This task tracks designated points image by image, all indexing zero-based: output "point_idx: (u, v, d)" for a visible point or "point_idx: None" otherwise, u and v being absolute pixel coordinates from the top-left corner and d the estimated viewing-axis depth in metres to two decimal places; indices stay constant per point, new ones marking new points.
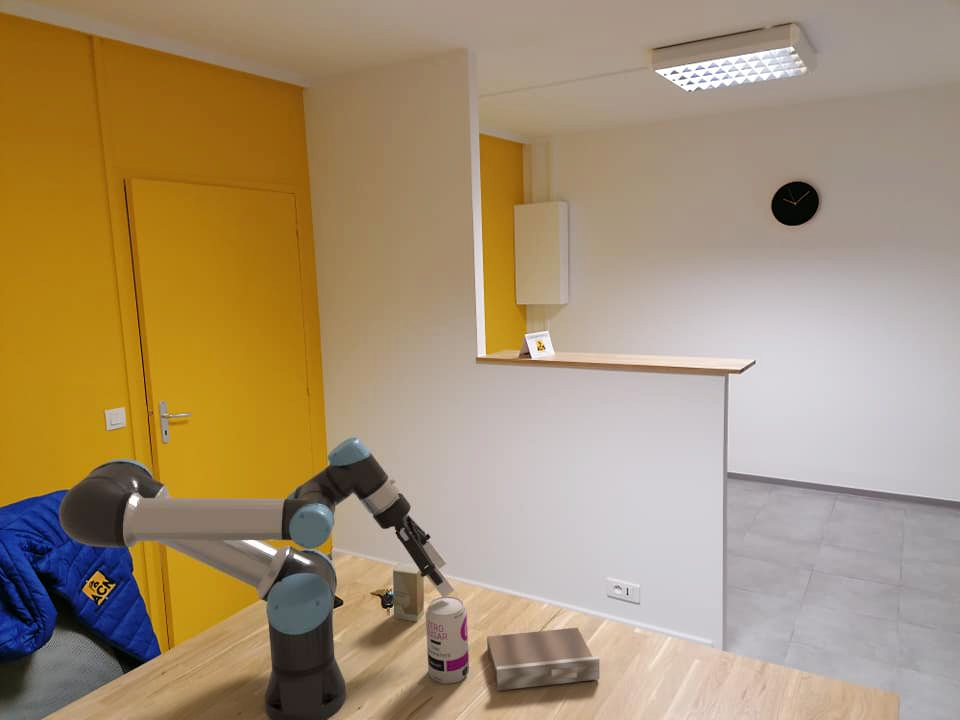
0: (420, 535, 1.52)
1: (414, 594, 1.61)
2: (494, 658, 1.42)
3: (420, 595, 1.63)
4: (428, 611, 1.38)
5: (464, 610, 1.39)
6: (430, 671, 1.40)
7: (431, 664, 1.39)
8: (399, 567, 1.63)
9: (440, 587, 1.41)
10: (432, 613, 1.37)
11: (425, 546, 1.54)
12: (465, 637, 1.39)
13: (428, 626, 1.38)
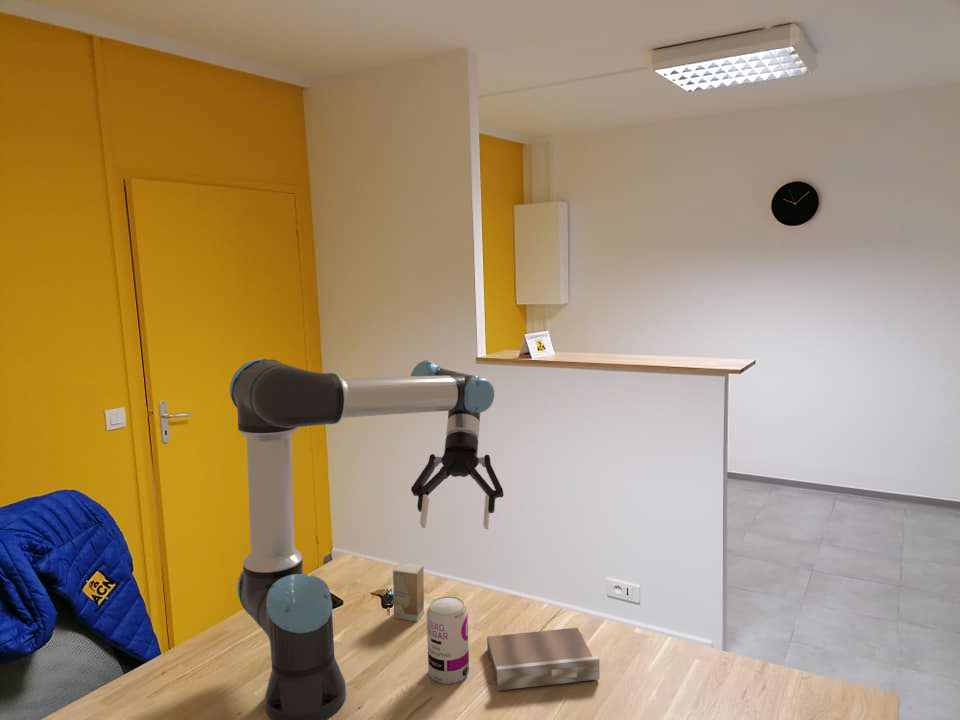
0: (435, 486, 1.55)
1: (414, 594, 1.61)
2: (494, 658, 1.42)
3: (420, 595, 1.63)
4: (429, 610, 1.39)
5: (465, 610, 1.39)
6: (430, 671, 1.40)
7: (432, 664, 1.39)
8: (399, 567, 1.63)
9: (487, 515, 1.48)
10: (433, 612, 1.37)
11: (427, 498, 1.53)
12: (466, 637, 1.39)
13: (429, 625, 1.38)
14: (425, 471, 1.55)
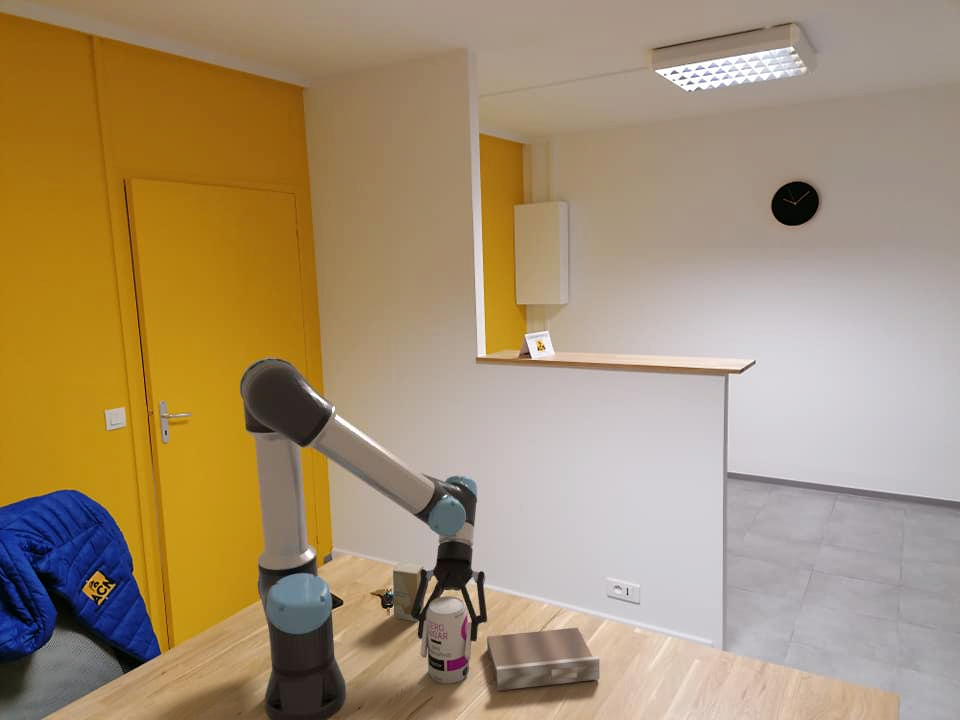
0: None
1: (414, 594, 1.61)
2: (494, 658, 1.42)
3: None
4: (429, 610, 1.39)
5: (465, 610, 1.39)
6: (430, 671, 1.40)
7: (432, 664, 1.39)
8: (399, 567, 1.63)
9: (469, 645, 1.38)
10: (433, 612, 1.37)
11: None
12: None
13: (428, 625, 1.38)
14: (420, 590, 1.45)
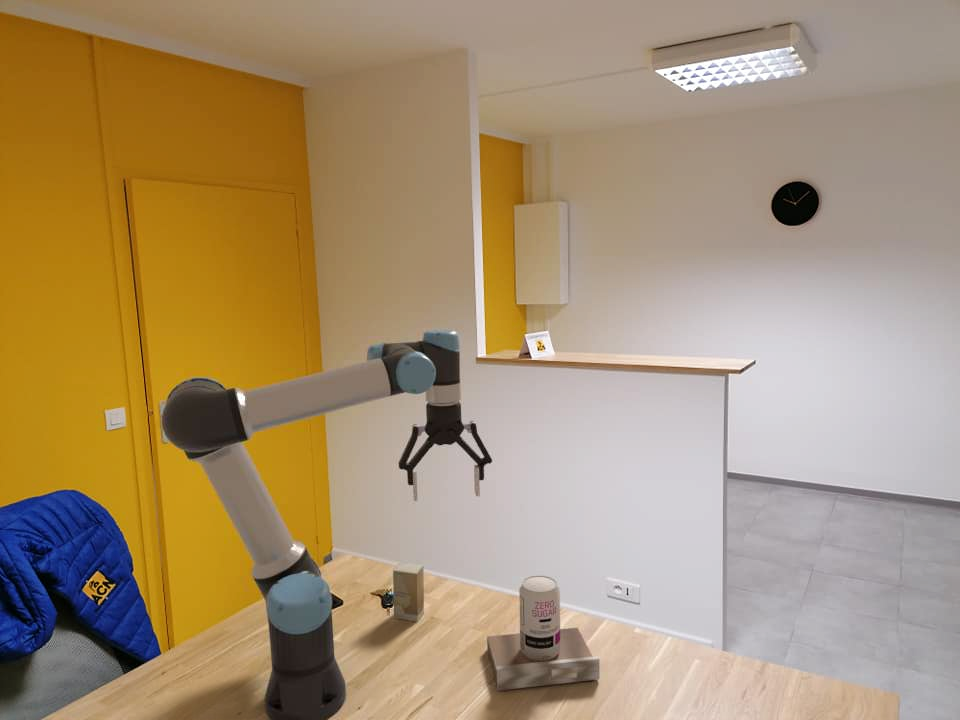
0: None
1: (414, 594, 1.61)
2: (494, 658, 1.42)
3: (420, 595, 1.63)
4: (532, 594, 1.38)
5: None
6: (536, 654, 1.40)
7: (539, 645, 1.39)
8: (399, 567, 1.63)
9: (479, 485, 1.53)
10: (540, 593, 1.38)
11: None
12: None
13: (536, 608, 1.38)
14: (410, 446, 1.49)
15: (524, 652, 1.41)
